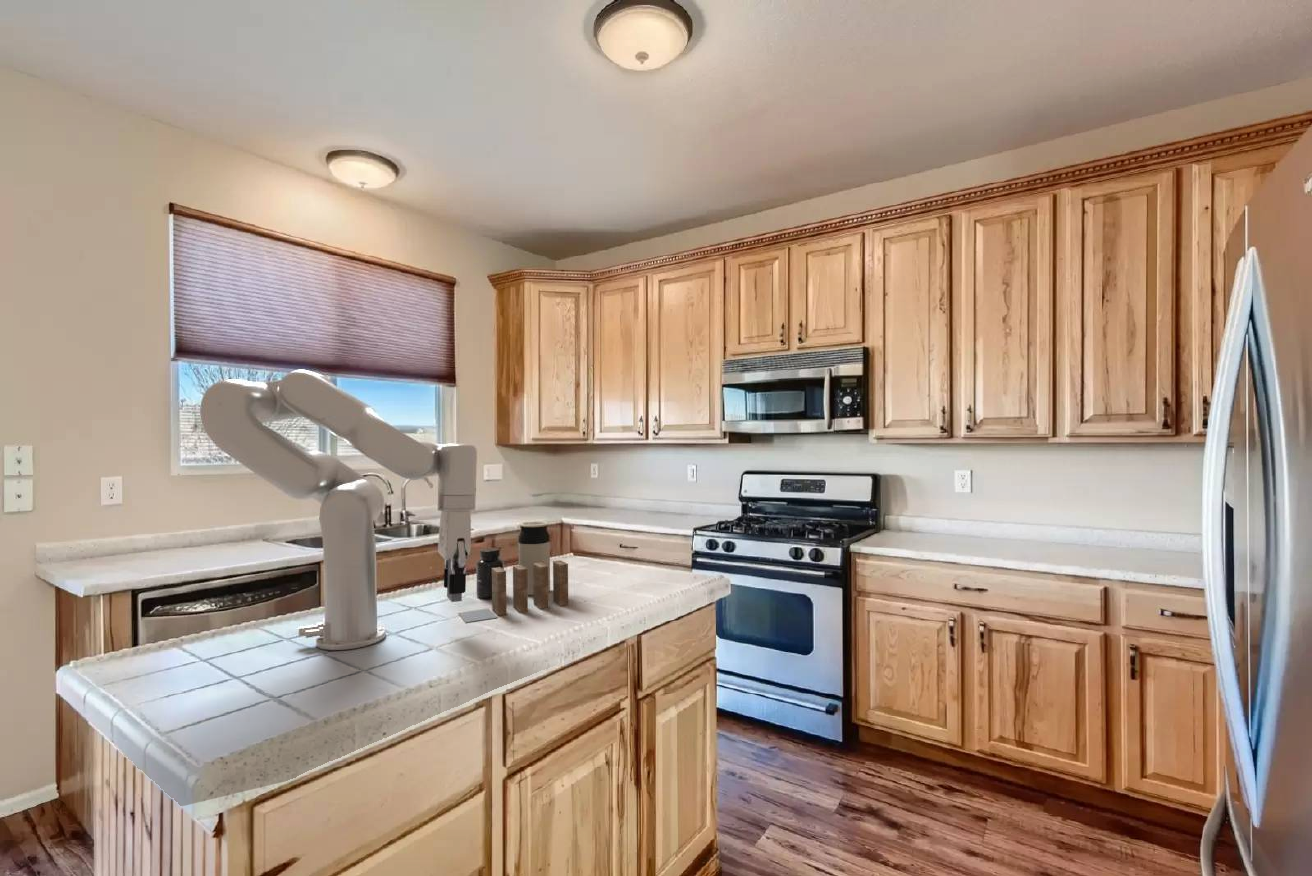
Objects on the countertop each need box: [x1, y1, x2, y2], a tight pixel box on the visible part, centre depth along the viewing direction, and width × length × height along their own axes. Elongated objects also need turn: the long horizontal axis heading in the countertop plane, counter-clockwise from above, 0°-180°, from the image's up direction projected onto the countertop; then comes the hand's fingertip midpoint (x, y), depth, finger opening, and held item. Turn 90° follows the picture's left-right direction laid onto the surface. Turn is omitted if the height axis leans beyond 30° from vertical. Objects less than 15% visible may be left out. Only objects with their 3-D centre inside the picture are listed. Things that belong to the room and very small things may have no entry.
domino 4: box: [533, 563, 549, 610], centre depth 150 cm, size 2×5×10 cm, turn 29°
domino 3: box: [512, 564, 529, 614], centre depth 147 cm, size 2×5×10 cm, turn 29°
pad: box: [457, 608, 498, 624], centre depth 142 cm, size 7×8×1 cm
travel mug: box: [517, 520, 551, 596], centre depth 163 cm, size 8×8×18 cm
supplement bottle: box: [475, 547, 505, 600], centre depth 160 cm, size 7×7×12 cm
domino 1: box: [446, 556, 463, 603], centre depth 131 cm, size 2×5×10 cm, turn 29°
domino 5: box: [552, 559, 569, 608], centre depth 152 cm, size 2×5×10 cm, turn 29°
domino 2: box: [491, 567, 508, 617], centre depth 145 cm, size 2×5×10 cm, turn 29°
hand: (454, 589), depth 131 cm, fingers closed on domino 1, 4 cm apart
